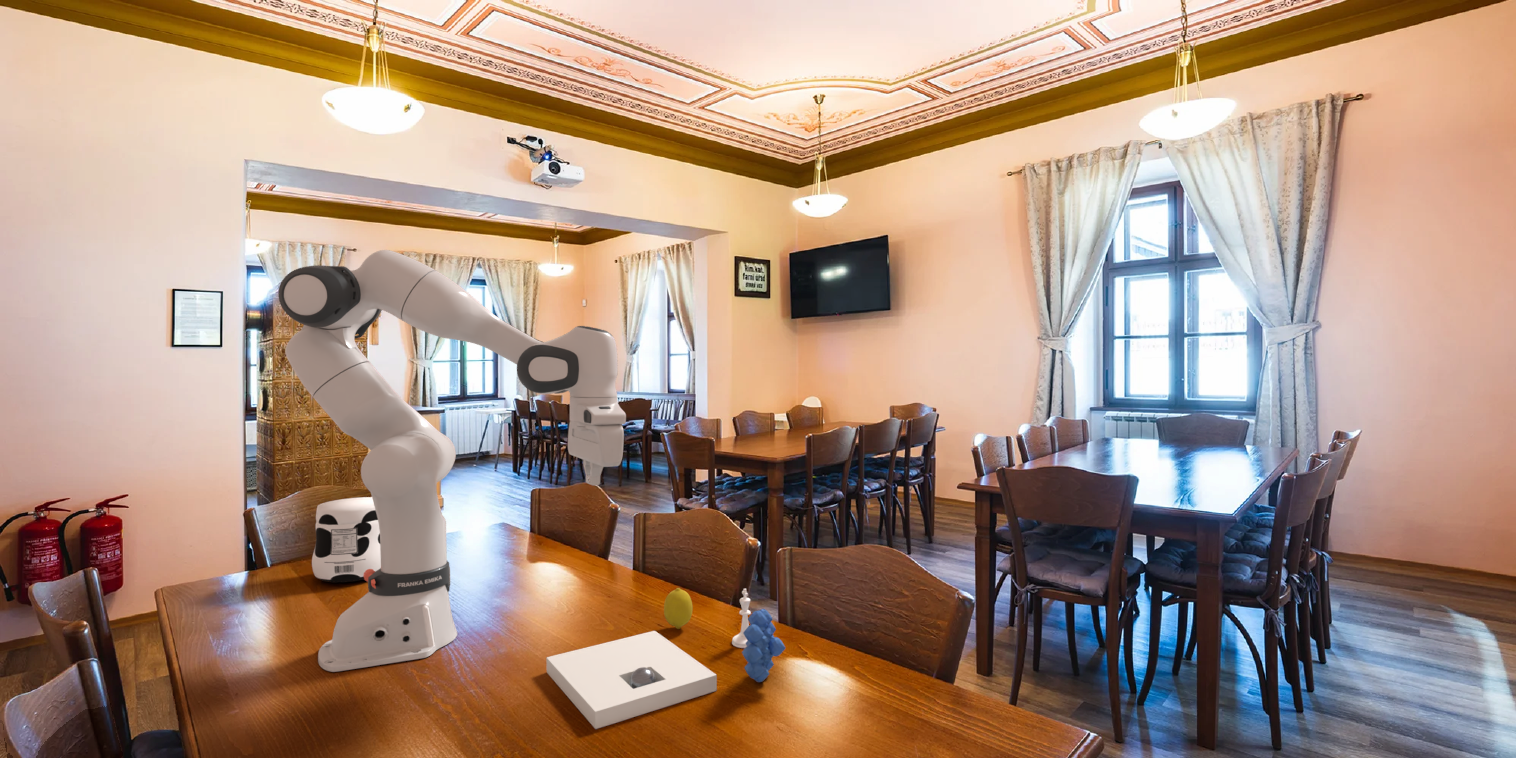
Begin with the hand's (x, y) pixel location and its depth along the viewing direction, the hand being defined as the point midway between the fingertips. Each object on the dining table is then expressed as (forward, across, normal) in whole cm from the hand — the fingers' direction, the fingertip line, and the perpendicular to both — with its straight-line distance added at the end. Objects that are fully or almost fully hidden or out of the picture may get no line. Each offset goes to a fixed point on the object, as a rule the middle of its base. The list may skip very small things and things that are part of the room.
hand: (592, 484), depth 132 cm
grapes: (+28, +35, +16) cm, 48 cm away
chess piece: (+28, +20, +22) cm, 41 cm away
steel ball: (+26, +28, -2) cm, 38 cm away
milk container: (+30, -66, -36) cm, 81 cm away
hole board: (+28, +23, -2) cm, 37 cm away
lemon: (+28, +7, +15) cm, 33 cm away
